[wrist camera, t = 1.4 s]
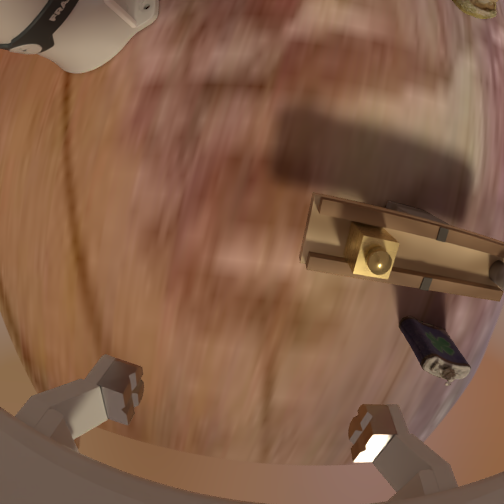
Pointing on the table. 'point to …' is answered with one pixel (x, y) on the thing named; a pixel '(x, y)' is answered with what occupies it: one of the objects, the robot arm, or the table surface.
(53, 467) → the robot arm
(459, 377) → the flask
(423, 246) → the beam
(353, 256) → the rider
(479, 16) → the ceramic model
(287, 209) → the table surface
